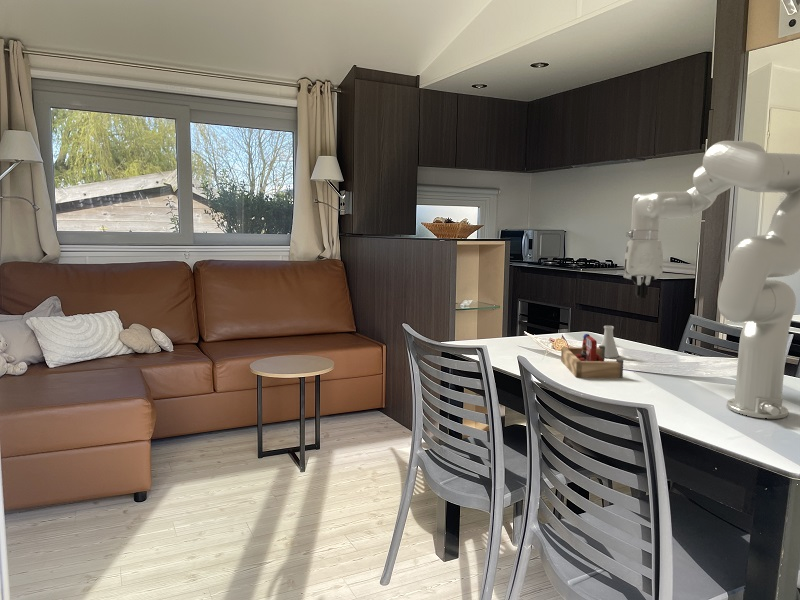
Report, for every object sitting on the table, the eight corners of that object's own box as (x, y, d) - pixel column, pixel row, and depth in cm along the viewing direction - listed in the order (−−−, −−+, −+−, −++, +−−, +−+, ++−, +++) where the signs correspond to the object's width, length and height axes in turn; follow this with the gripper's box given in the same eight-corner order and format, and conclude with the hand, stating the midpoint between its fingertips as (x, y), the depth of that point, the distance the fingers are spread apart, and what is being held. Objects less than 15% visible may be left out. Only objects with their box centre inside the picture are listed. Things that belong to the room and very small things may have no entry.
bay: (622, 377, 168) (623, 360, 168) (576, 377, 169) (576, 359, 168) (602, 361, 187) (603, 345, 186) (561, 360, 188) (561, 345, 187)
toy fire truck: (595, 363, 184) (597, 331, 183) (605, 374, 172) (607, 340, 171) (573, 363, 185) (574, 331, 183) (581, 374, 173) (582, 339, 171)
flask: (596, 357, 192) (597, 328, 190) (595, 352, 199) (597, 323, 197) (619, 359, 190) (621, 329, 188) (618, 354, 197) (619, 325, 195)
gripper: (622, 236, 168) (619, 299, 170) (675, 236, 167) (671, 299, 170) (614, 235, 175) (611, 296, 178) (664, 235, 175) (661, 296, 177)
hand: (641, 297), depth 174 cm, fingers closed
